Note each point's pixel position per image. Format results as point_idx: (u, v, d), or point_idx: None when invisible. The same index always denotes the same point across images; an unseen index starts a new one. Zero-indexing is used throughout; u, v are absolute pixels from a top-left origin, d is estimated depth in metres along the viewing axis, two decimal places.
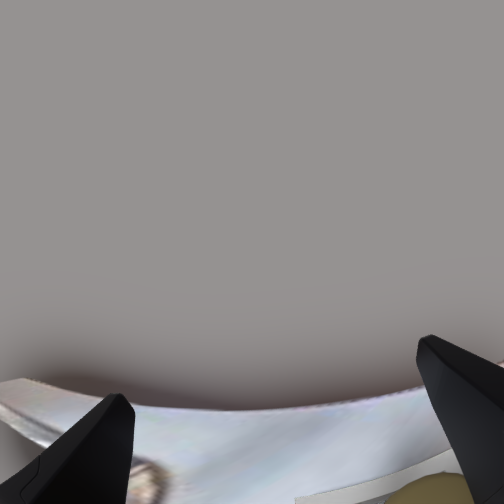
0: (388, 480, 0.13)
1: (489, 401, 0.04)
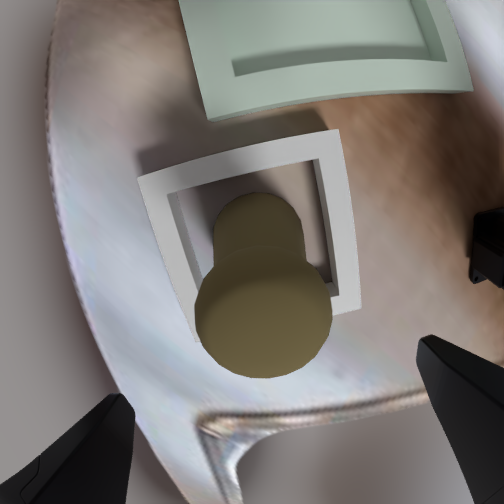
0: (170, 260, 0.18)
1: (489, 401, 0.04)
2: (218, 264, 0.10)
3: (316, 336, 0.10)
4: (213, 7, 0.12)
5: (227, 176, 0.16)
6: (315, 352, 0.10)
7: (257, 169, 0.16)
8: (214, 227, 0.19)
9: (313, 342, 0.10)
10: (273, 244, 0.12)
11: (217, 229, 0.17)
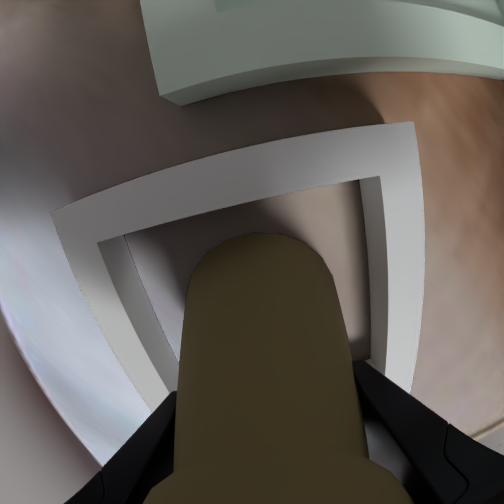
0: (118, 345, 0.10)
1: (397, 445, 0.04)
2: None
3: None
4: None
5: (202, 210, 0.08)
6: None
7: (262, 196, 0.08)
8: (187, 291, 0.11)
9: None
10: (305, 418, 0.04)
11: (188, 307, 0.09)
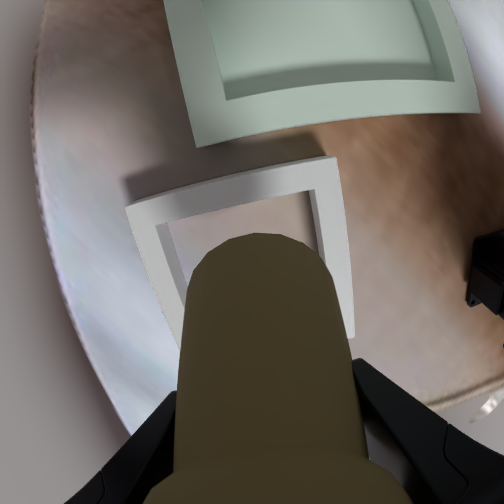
0: (161, 291, 0.17)
1: (397, 445, 0.04)
2: None
3: None
4: (203, 21, 0.11)
5: (217, 208, 0.16)
6: None
7: (249, 201, 0.16)
8: (187, 291, 0.11)
9: None
10: (305, 419, 0.04)
11: (188, 308, 0.09)
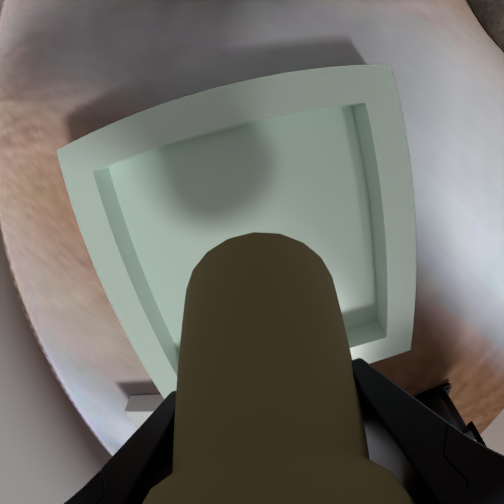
0: None
1: (397, 445, 0.04)
2: None
3: None
4: (146, 322, 0.16)
5: None
6: None
7: None
8: (186, 291, 0.11)
9: None
10: (305, 418, 0.04)
11: (187, 307, 0.09)
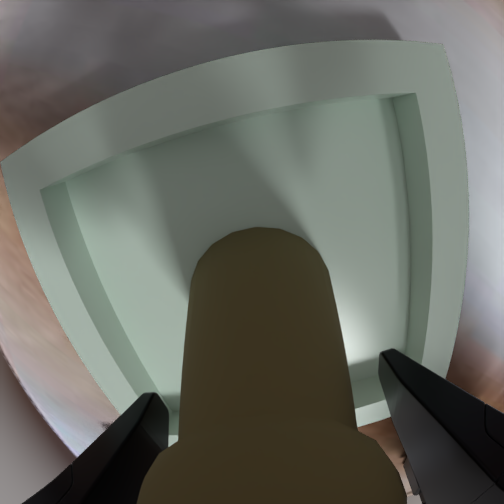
0: None
1: (441, 427, 0.04)
2: (170, 477, 0.03)
3: None
4: (122, 378, 0.12)
5: None
6: None
7: None
8: (191, 280, 0.12)
9: None
10: (299, 388, 0.05)
11: (193, 295, 0.10)
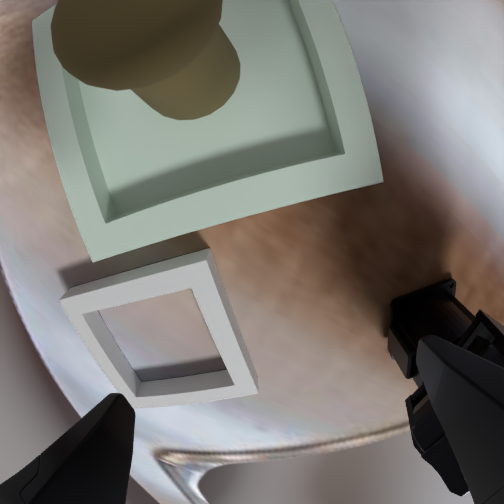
0: (97, 357, 0.20)
1: (489, 401, 0.04)
2: None
3: None
4: (77, 147, 0.14)
5: (120, 303, 0.18)
6: (186, 4, 0.05)
7: (141, 298, 0.18)
8: None
9: None
10: None
11: None
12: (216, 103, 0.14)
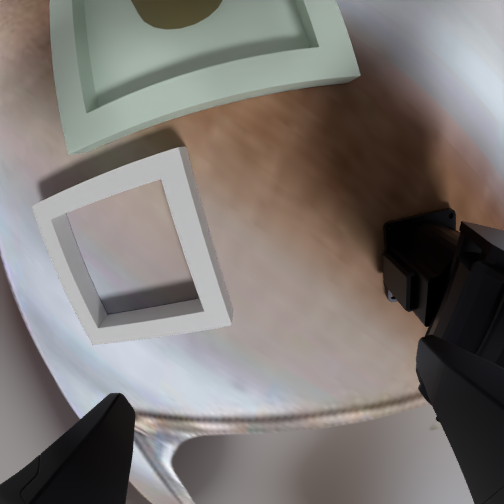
0: (61, 274, 0.18)
1: (489, 401, 0.04)
2: None
3: None
4: (73, 50, 0.12)
5: (89, 202, 0.17)
6: None
7: (110, 194, 0.16)
8: None
9: None
10: None
11: None
12: (200, 10, 0.13)
